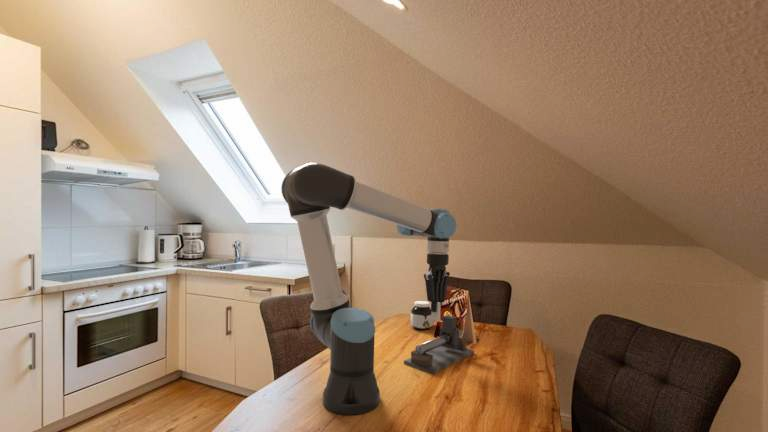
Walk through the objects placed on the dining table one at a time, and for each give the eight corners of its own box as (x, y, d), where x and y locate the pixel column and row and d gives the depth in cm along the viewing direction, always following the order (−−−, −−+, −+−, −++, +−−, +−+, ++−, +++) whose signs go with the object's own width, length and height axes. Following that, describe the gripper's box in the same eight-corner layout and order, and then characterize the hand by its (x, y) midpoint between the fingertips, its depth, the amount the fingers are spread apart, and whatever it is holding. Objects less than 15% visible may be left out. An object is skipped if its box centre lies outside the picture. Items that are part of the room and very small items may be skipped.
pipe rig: (433, 374, 116) (433, 360, 116) (403, 363, 124) (404, 350, 124) (473, 353, 135) (473, 340, 135) (445, 345, 143) (446, 333, 143)
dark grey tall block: (454, 349, 130) (454, 319, 131) (439, 345, 135) (439, 315, 135) (458, 347, 133) (459, 317, 133) (443, 343, 137) (444, 314, 137)
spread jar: (411, 330, 161) (412, 304, 161) (407, 323, 172) (408, 298, 172) (438, 330, 162) (439, 304, 162) (433, 323, 173) (433, 298, 174)
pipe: (423, 356, 119) (423, 346, 119) (415, 353, 121) (415, 343, 121) (462, 338, 138) (462, 330, 138) (455, 336, 140) (455, 328, 140)
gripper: (436, 254, 121) (433, 326, 120) (457, 253, 130) (454, 319, 130) (418, 252, 126) (415, 321, 125) (439, 251, 135) (437, 315, 135)
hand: (435, 320), depth 128 cm, fingers closed
